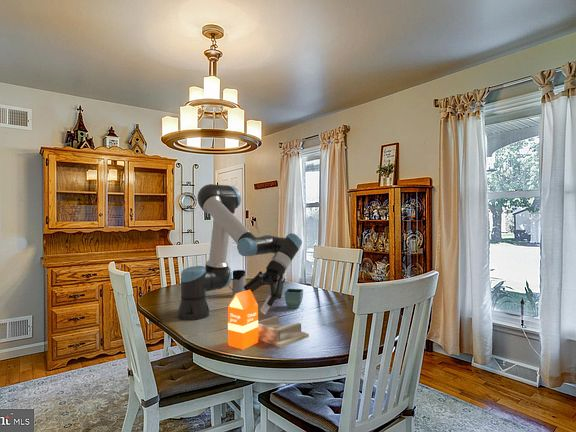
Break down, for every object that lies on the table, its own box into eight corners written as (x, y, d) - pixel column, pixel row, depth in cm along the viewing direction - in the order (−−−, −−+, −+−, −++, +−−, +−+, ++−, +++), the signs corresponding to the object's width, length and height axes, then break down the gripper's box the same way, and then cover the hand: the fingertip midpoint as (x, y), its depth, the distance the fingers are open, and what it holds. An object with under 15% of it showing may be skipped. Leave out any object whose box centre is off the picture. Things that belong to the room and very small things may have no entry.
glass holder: (241, 297, 206) (241, 272, 206) (221, 295, 212) (221, 271, 212) (248, 294, 215) (248, 270, 215) (228, 292, 220) (228, 269, 220)
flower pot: (300, 310, 180) (300, 292, 180) (284, 309, 182) (284, 292, 182) (303, 305, 188) (303, 289, 188) (287, 304, 190) (287, 288, 190)
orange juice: (227, 345, 132) (227, 292, 132) (243, 338, 139) (243, 288, 139) (243, 349, 127) (243, 295, 127) (258, 342, 135) (258, 290, 135)
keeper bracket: (246, 334, 143) (246, 322, 143) (274, 325, 155) (274, 314, 155) (280, 347, 129) (280, 333, 129) (308, 336, 141) (308, 323, 140)
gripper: (305, 274, 138) (278, 320, 128) (263, 268, 156) (236, 308, 145) (295, 262, 134) (267, 309, 124) (253, 257, 152) (225, 298, 141)
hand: (250, 309), depth 134 cm, fingers open, 13 cm apart
